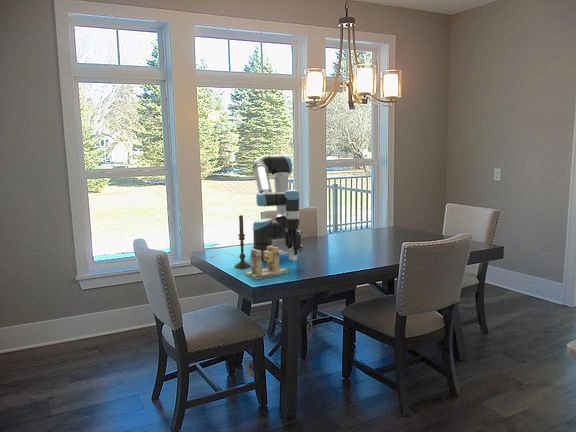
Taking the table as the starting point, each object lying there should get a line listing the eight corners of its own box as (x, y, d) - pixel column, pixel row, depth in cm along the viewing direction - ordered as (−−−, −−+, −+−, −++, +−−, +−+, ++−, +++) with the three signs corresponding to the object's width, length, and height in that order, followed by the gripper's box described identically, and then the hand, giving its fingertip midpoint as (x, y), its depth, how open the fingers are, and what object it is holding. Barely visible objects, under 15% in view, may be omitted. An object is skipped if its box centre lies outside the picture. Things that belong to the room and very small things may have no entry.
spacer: (263, 260, 252) (263, 251, 251) (268, 259, 254) (267, 250, 253) (269, 261, 248) (268, 252, 248) (273, 260, 250) (273, 251, 249)
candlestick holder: (232, 268, 264) (230, 215, 259) (237, 264, 273) (235, 213, 268) (248, 268, 262) (246, 215, 258) (252, 264, 271) (250, 213, 267)
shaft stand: (245, 274, 250) (244, 249, 248) (275, 268, 262) (274, 243, 260) (258, 279, 241) (258, 252, 239) (289, 272, 253) (288, 246, 251)
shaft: (263, 258, 251) (262, 251, 251) (300, 251, 267) (299, 244, 267) (267, 260, 248) (267, 252, 248) (304, 252, 264) (304, 245, 264)
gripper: (278, 217, 262) (279, 258, 266) (296, 220, 250) (296, 263, 254) (288, 215, 267) (289, 256, 270) (306, 219, 255) (307, 261, 258)
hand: (293, 259), depth 262 cm, fingers closed on shaft, 2 cm apart
